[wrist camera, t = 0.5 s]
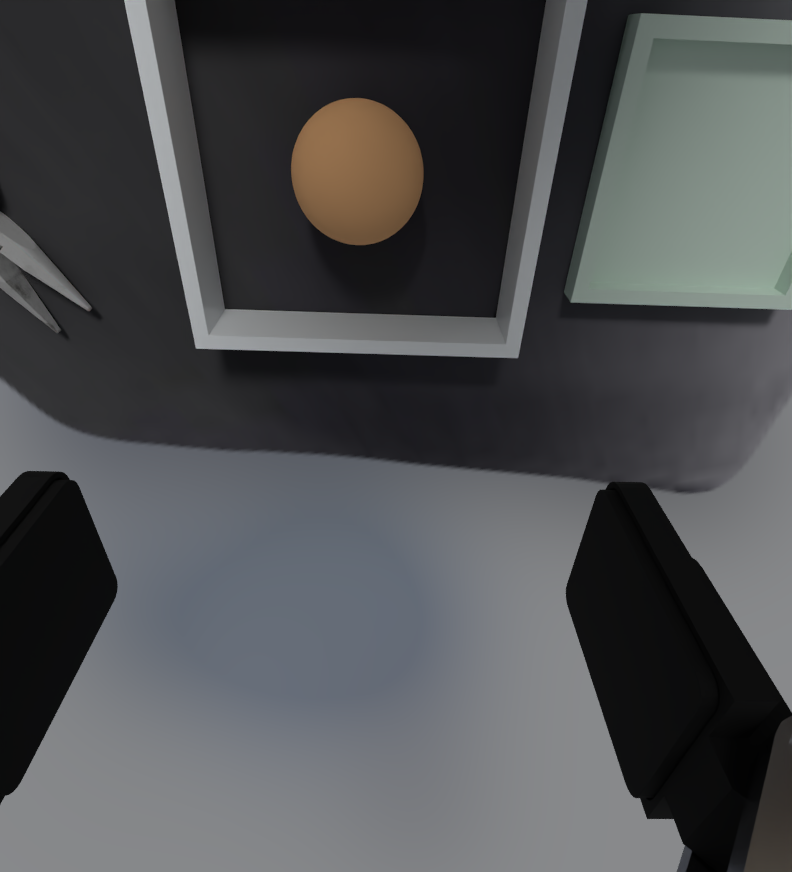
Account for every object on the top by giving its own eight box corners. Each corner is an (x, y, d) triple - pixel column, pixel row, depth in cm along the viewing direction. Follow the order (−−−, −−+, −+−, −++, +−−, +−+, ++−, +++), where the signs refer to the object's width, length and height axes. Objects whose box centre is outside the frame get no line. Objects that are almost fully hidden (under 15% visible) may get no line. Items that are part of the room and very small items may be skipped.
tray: (628, 14, 23) (641, 13, 22) (908, 28, 24) (936, 27, 22) (563, 292, 31) (570, 302, 30) (777, 299, 31) (792, 309, 30)
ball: (296, 89, 25) (273, 100, 20) (424, 95, 25) (432, 107, 20) (305, 223, 28) (287, 260, 24) (417, 227, 29) (422, 265, 24)
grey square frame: (139, -90, 21) (101, -110, 18) (576, -67, 22) (603, -83, 19) (213, 321, 32) (196, 348, 29) (506, 330, 32) (518, 358, 29)
